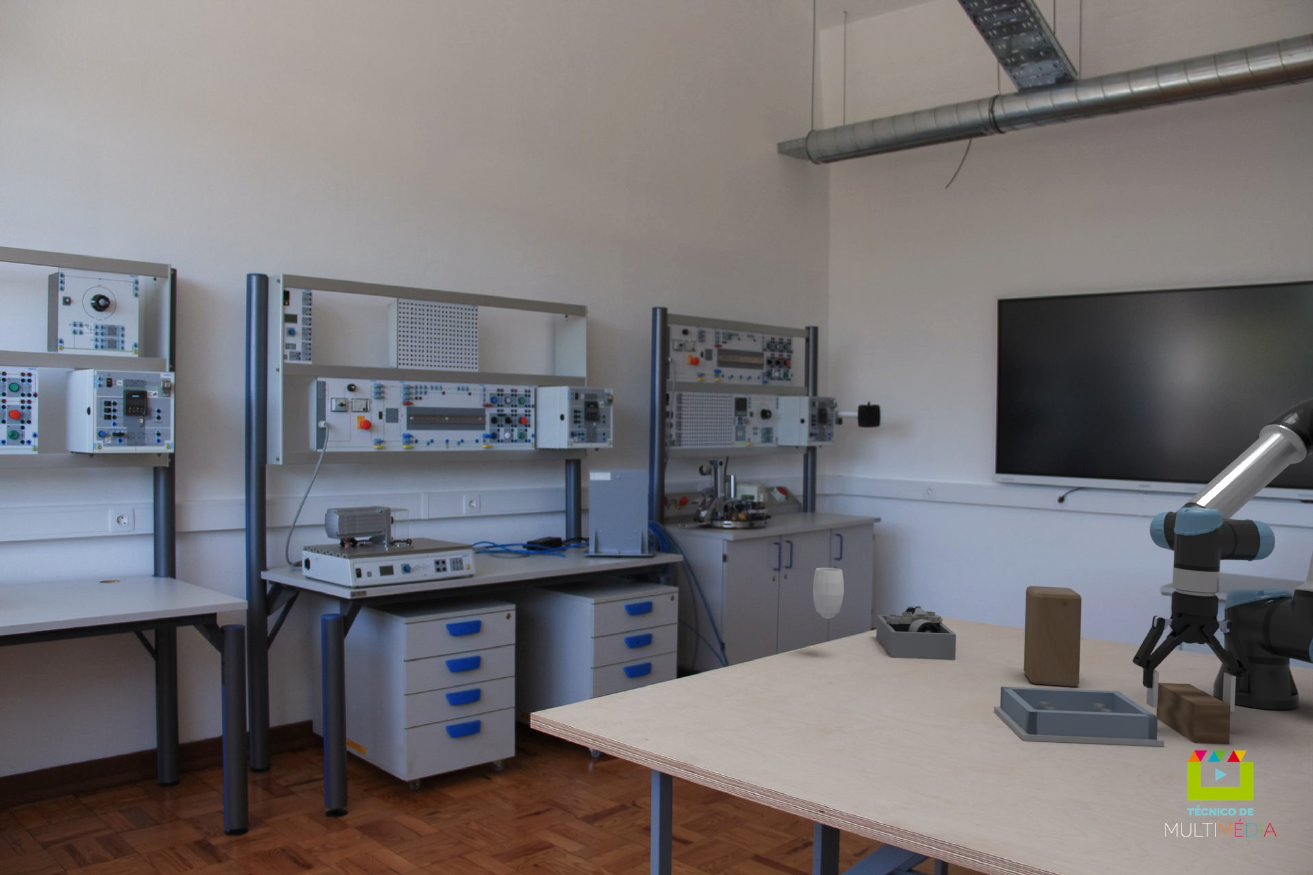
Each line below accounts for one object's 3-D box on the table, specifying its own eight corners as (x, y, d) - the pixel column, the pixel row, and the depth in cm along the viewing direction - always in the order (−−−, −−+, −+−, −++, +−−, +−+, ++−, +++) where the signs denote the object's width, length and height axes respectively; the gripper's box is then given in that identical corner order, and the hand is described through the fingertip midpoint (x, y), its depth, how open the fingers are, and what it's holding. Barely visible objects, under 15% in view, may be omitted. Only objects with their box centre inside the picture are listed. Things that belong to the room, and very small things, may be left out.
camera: (897, 652, 239) (898, 611, 239) (879, 644, 247) (880, 605, 247) (953, 650, 243) (954, 609, 243) (934, 642, 252) (935, 603, 252)
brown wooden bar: (1156, 719, 189) (1157, 682, 189) (1188, 720, 188) (1189, 683, 188) (1194, 743, 174) (1195, 704, 174) (1229, 745, 173) (1230, 705, 173)
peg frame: (1121, 716, 189) (1122, 690, 189) (1164, 746, 171) (1164, 717, 171) (994, 711, 191) (994, 685, 191) (1023, 740, 173) (1023, 711, 173)
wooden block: (1080, 688, 210) (1082, 594, 210) (1030, 684, 212) (1033, 591, 212) (1070, 676, 220) (1072, 587, 220) (1022, 673, 222) (1025, 584, 222)
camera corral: (934, 640, 256) (935, 617, 256) (955, 659, 234) (956, 634, 234) (876, 637, 257) (876, 614, 257) (891, 657, 235) (891, 632, 235)
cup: (846, 656, 235) (849, 569, 235) (835, 661, 229) (837, 572, 228) (818, 651, 239) (820, 566, 238) (806, 657, 232) (808, 569, 232)
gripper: (1254, 592, 184) (1249, 706, 184) (1117, 585, 185) (1112, 698, 185) (1277, 599, 176) (1271, 717, 176) (1134, 591, 178) (1128, 709, 178)
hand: (1189, 708), depth 181 cm, fingers open, 13 cm apart
